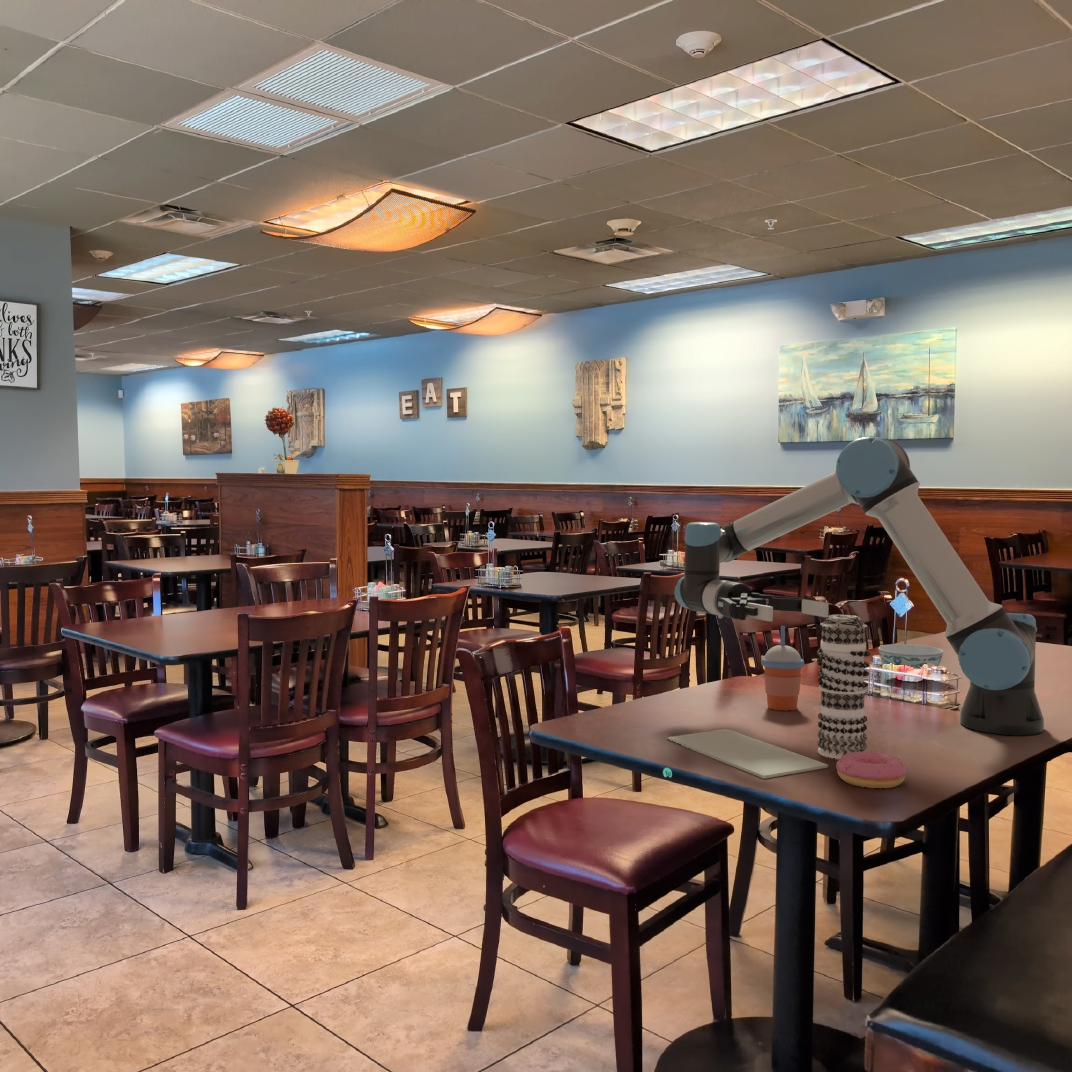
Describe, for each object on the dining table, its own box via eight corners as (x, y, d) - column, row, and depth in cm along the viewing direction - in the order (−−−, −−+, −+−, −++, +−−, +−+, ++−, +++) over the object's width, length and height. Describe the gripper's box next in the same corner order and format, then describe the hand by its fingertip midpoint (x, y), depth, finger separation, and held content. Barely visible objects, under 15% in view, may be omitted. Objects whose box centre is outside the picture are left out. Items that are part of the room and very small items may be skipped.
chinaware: (938, 675, 247) (939, 645, 247) (945, 687, 233) (946, 655, 232) (876, 672, 252) (877, 643, 251) (879, 684, 237) (880, 652, 237)
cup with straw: (785, 714, 206) (785, 630, 205) (752, 706, 213) (752, 625, 212) (812, 708, 211) (813, 626, 210) (779, 701, 218) (780, 621, 218)
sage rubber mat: (667, 739, 186) (667, 737, 186) (726, 731, 192) (726, 728, 192) (763, 778, 161) (763, 775, 161) (828, 767, 167) (828, 764, 167)
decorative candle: (863, 747, 180) (865, 613, 178) (873, 761, 171) (875, 620, 169) (812, 745, 181) (814, 612, 180) (819, 759, 172) (821, 619, 171)
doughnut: (906, 795, 153) (906, 769, 152) (833, 787, 157) (833, 762, 157) (906, 775, 163) (907, 751, 163) (838, 769, 167) (838, 745, 167)
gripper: (775, 613, 209) (848, 627, 190) (679, 620, 197) (746, 636, 179) (776, 579, 208) (849, 589, 189) (680, 584, 197) (747, 595, 178)
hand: (799, 612), depth 184 cm, fingers open, 13 cm apart
